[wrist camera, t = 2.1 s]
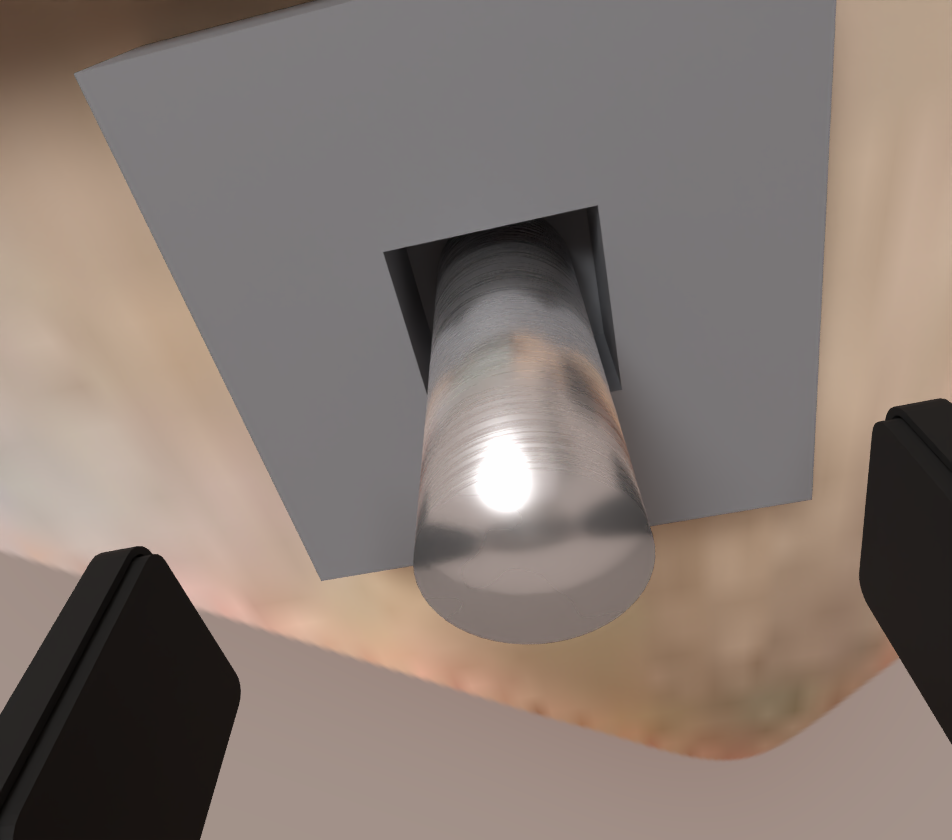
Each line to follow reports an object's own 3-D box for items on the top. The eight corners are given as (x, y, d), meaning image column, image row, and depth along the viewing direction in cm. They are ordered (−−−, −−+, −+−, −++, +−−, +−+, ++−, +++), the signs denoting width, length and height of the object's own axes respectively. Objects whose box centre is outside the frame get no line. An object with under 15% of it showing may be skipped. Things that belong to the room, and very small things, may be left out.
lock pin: (560, 194, 16) (644, 450, 8) (579, 319, 17) (664, 626, 10) (423, 224, 16) (383, 497, 8) (455, 344, 18) (445, 658, 10)
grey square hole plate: (771, -119, 13) (842, -127, 10) (768, 426, 20) (811, 499, 17) (141, 45, 14) (73, 73, 12) (338, 502, 21) (321, 580, 19)
